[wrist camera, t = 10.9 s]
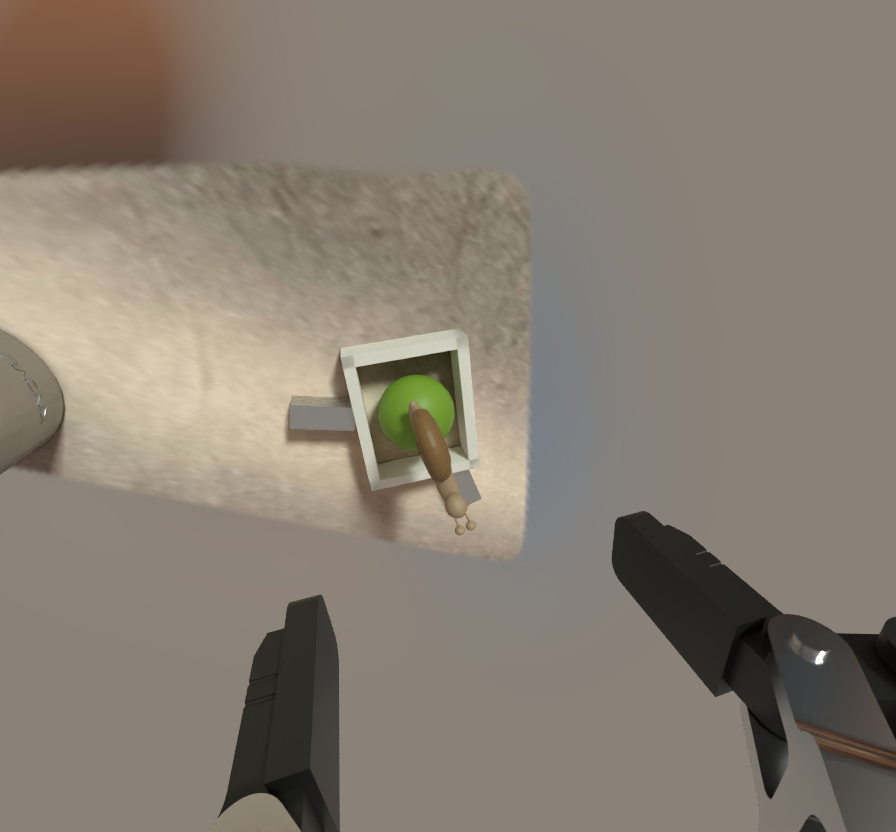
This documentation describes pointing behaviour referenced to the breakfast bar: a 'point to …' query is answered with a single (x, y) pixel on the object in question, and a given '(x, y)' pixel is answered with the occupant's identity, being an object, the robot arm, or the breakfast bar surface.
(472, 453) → the white rectangular frame piece
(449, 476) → the snail figurine
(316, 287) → the breakfast bar surface
